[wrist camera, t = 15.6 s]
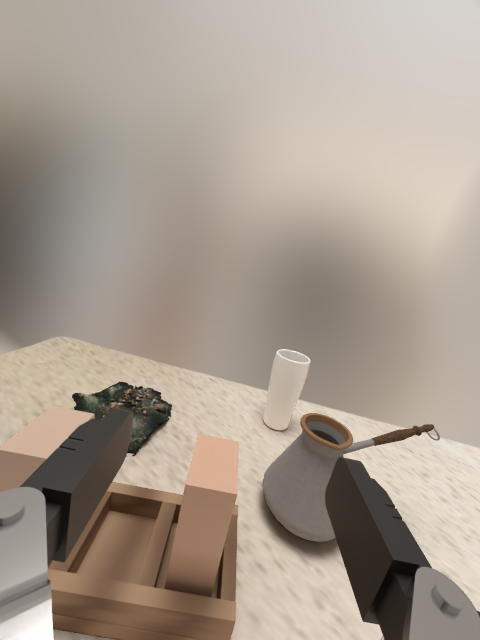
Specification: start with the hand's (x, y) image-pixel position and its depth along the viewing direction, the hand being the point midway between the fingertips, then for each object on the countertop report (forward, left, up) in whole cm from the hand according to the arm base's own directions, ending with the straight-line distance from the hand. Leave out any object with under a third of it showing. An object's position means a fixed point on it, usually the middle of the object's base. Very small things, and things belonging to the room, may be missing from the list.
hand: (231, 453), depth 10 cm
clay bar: (+6, +10, -22) cm, 25 cm away
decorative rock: (+3, +37, -24) cm, 44 cm away
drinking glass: (+30, +29, -24) cm, 48 cm away
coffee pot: (+26, +10, -24) cm, 37 cm away
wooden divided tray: (-1, +13, -23) cm, 27 cm away
